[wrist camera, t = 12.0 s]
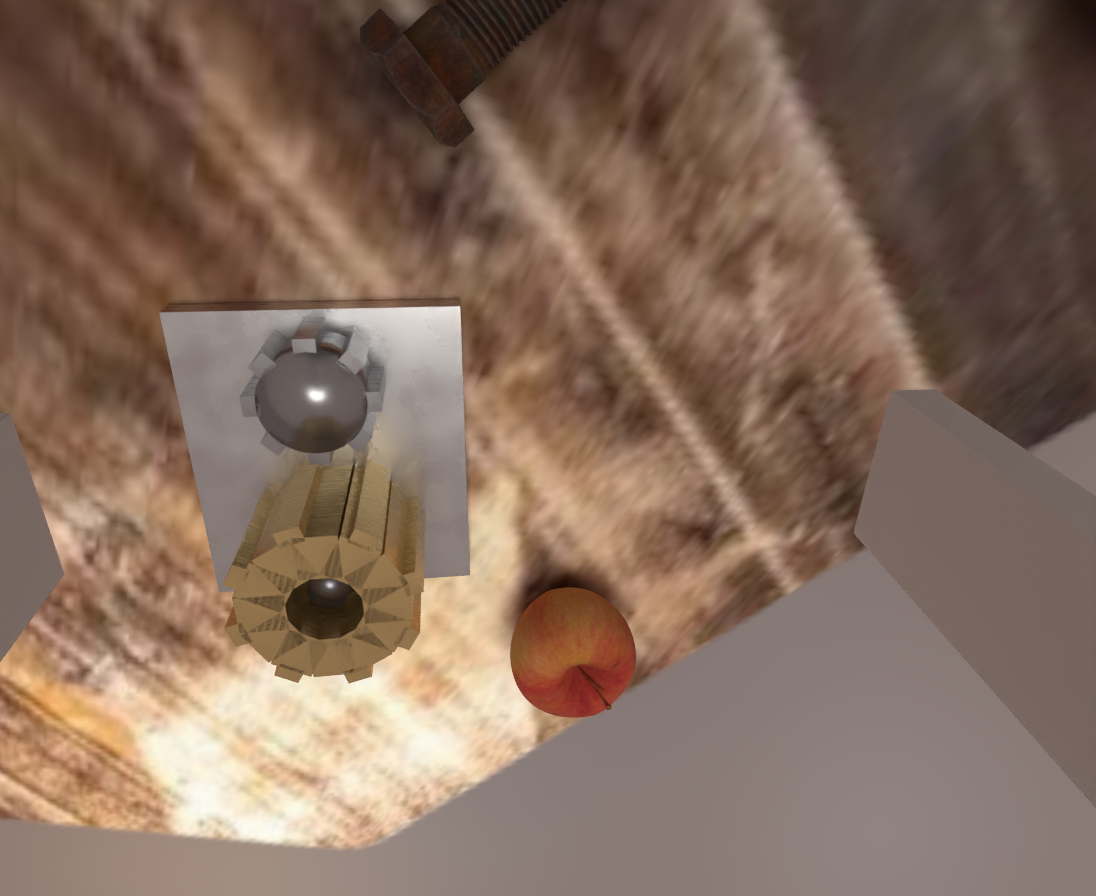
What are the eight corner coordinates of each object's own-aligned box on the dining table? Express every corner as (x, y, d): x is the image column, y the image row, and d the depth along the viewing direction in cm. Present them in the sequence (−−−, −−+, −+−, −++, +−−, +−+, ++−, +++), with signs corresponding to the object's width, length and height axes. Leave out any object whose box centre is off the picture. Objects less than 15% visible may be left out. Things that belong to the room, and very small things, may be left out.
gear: (268, 604, 42) (239, 692, 36) (240, 460, 38) (203, 532, 32) (430, 592, 44) (430, 676, 37) (420, 451, 40) (418, 519, 33)
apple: (526, 550, 45) (544, 636, 38) (635, 575, 47) (671, 662, 40) (489, 643, 48) (499, 740, 41) (593, 663, 50) (620, 759, 43)
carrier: (169, 304, 36) (113, 348, 30) (459, 298, 38) (464, 339, 32) (226, 576, 43) (190, 659, 37) (468, 560, 45) (474, 636, 39)
